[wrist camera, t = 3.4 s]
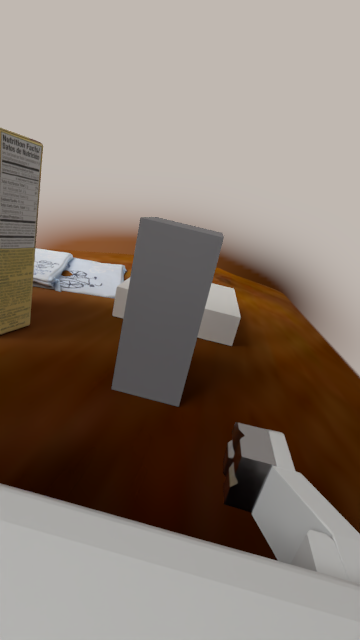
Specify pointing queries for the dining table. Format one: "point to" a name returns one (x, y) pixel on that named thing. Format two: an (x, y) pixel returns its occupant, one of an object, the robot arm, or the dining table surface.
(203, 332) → the white block
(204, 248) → the tall block
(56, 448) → the dining table surface
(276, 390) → the dining table surface
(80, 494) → the dining table surface
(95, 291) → the folded bicycle print cloth
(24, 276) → the candy box
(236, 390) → the dining table surface
